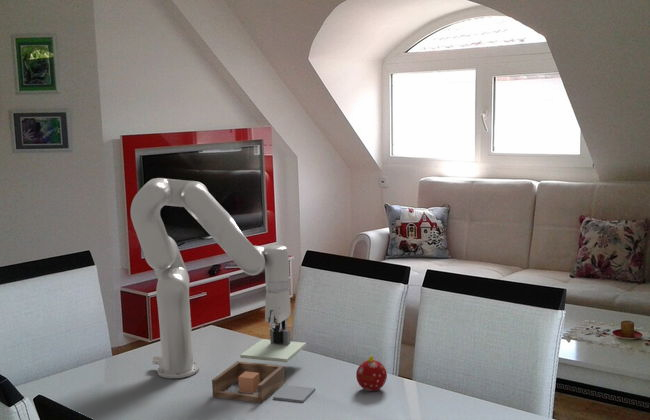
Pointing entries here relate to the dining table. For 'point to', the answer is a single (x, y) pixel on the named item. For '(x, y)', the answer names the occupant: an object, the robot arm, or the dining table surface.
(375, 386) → the christmas ornament
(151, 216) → the robot arm
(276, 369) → the board
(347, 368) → the dining table surface
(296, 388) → the pad
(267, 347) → the lid
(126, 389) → the dining table surface
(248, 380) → the block
